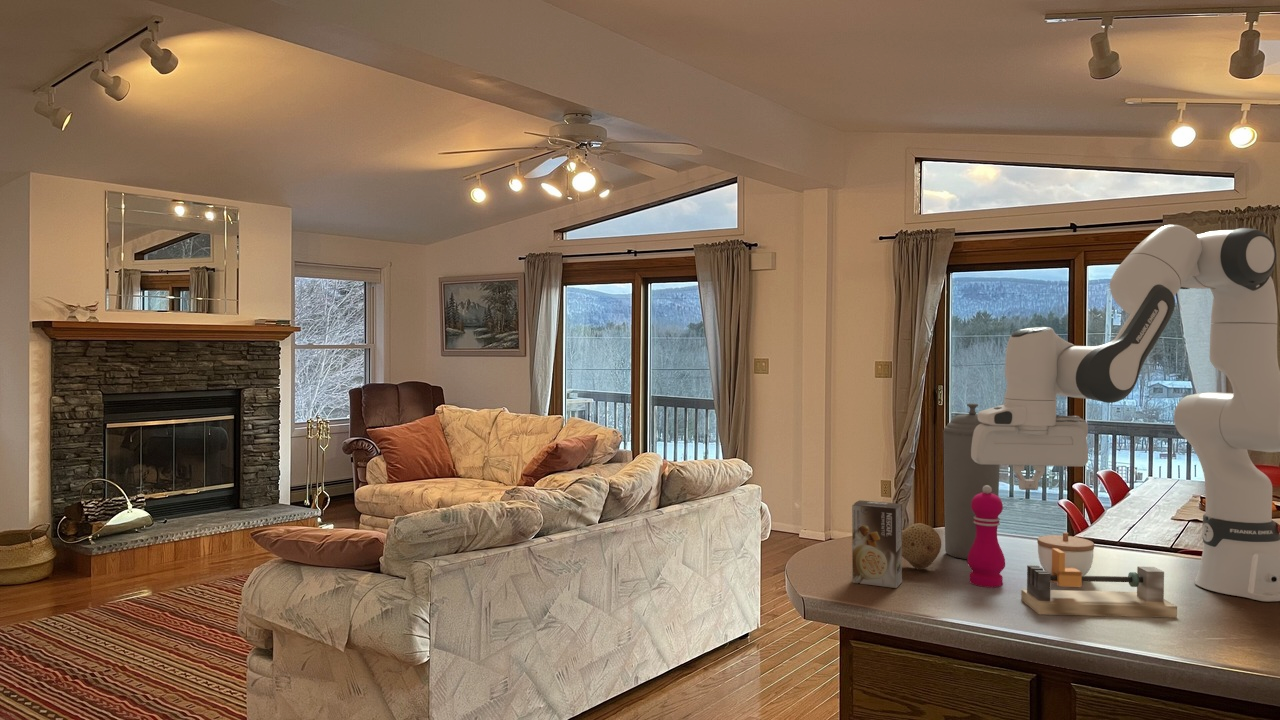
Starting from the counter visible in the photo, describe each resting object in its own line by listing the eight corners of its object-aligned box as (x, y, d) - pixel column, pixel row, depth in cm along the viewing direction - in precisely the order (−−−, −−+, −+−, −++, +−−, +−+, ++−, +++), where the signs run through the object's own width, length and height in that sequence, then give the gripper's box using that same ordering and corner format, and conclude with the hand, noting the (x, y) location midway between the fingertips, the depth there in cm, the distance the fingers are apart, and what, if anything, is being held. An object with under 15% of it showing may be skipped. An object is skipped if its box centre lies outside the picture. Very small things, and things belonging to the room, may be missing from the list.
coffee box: (903, 581, 184) (904, 503, 183) (896, 589, 178) (897, 508, 178) (858, 575, 188) (859, 499, 188) (850, 583, 182) (851, 504, 182)
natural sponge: (936, 577, 187) (936, 529, 187) (892, 571, 191) (893, 525, 191) (944, 567, 195) (944, 521, 195) (902, 562, 199) (903, 517, 199)
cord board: (1151, 602, 169) (1152, 563, 169) (1177, 617, 160) (1177, 575, 160) (1021, 599, 171) (1021, 560, 171) (1039, 614, 162) (1039, 572, 162)
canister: (929, 551, 210) (931, 401, 210) (975, 547, 214) (977, 401, 213) (964, 564, 198) (966, 405, 197) (1012, 560, 202) (1014, 404, 201)
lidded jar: (1053, 568, 195) (1054, 525, 195) (1103, 579, 186) (1104, 534, 186) (1026, 575, 188) (1027, 531, 188) (1076, 587, 180) (1077, 540, 180)
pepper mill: (1008, 589, 178) (1009, 488, 178) (969, 586, 180) (971, 487, 179) (1001, 579, 185) (1002, 483, 185) (964, 577, 187) (965, 481, 186)
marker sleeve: (1073, 581, 167) (1074, 548, 167) (1081, 586, 164) (1081, 553, 164) (1051, 581, 168) (1052, 548, 168) (1058, 586, 164) (1059, 552, 164)
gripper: (1080, 414, 168) (1078, 488, 168) (969, 412, 169) (967, 485, 170) (1095, 417, 162) (1093, 493, 162) (979, 415, 163) (977, 491, 163)
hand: (1028, 489), depth 166 cm, fingers closed
